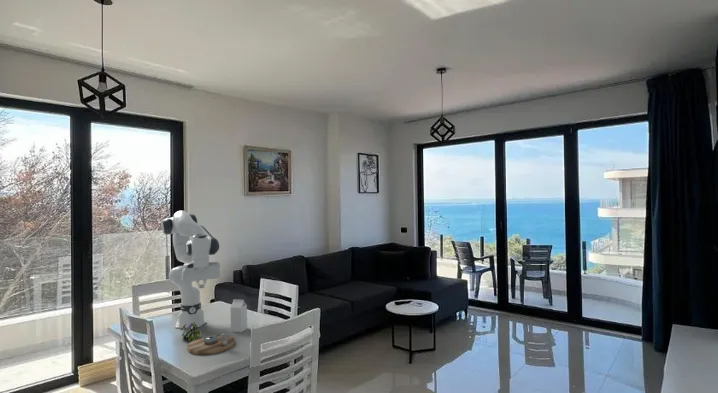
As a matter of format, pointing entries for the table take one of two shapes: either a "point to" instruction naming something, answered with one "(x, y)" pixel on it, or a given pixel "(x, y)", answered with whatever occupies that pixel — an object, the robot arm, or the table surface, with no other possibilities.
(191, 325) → the passion flower
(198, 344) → the turntable
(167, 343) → the table surface
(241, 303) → the milk carton
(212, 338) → the pot lid
